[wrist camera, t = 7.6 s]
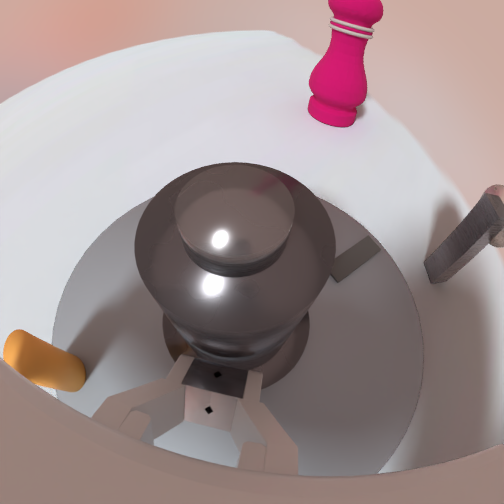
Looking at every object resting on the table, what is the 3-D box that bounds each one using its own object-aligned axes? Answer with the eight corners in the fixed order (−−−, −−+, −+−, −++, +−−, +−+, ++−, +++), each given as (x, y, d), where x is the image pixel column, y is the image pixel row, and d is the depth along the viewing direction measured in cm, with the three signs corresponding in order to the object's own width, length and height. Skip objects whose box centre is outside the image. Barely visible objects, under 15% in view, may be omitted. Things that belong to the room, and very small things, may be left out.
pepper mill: (300, 120, 30) (325, -36, 13) (306, 97, 33) (328, -30, 16) (358, 136, 29) (401, -14, 12) (356, 111, 33) (388, -13, 16)
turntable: (431, 477, 10) (489, 484, 5) (62, 496, 8) (8, 510, 3) (368, 188, 22) (391, 137, 17) (93, 195, 20) (70, 144, 16)
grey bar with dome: (457, 292, 19) (534, 223, 10) (435, 296, 18) (518, 222, 10) (441, 249, 21) (505, 174, 12) (419, 250, 21) (485, 167, 12)
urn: (309, 390, 13) (422, 353, 5) (165, 391, 13) (51, 357, 4) (296, 265, 17) (344, 127, 9) (174, 266, 17) (127, 126, 8)
